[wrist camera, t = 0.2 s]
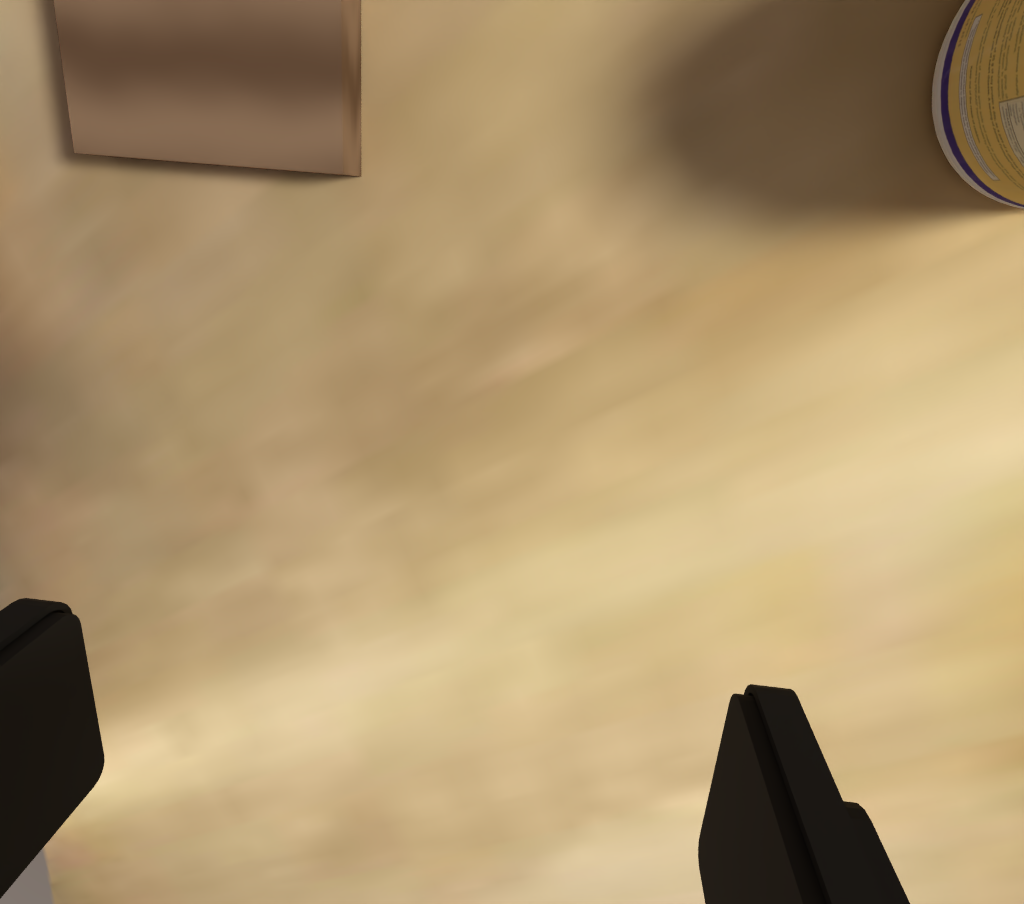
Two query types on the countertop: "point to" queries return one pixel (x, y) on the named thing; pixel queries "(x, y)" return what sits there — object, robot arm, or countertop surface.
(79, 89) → the walnut board
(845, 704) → the countertop surface
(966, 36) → the supplement tub
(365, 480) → the countertop surface
